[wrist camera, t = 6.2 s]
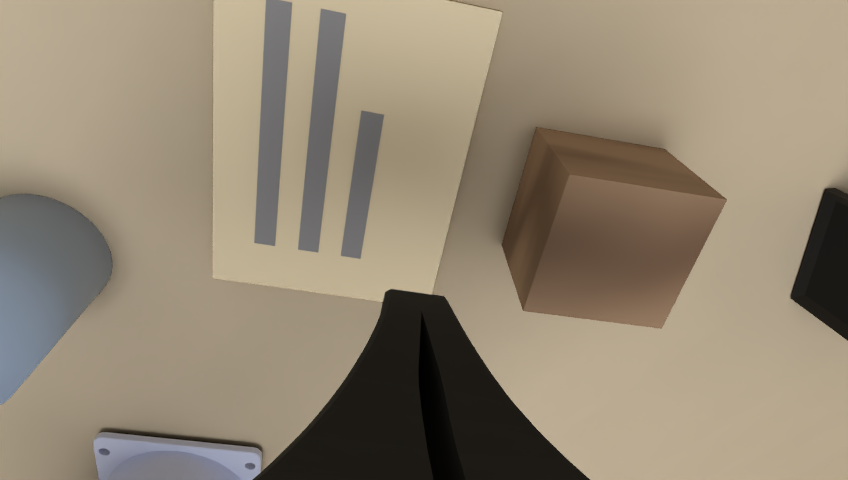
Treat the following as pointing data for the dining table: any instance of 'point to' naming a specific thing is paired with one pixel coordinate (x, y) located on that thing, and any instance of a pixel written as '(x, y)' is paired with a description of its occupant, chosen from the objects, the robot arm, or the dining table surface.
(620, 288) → the walnut block
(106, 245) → the slate cylinder
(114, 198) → the dining table surface
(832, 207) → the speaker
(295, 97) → the letter
